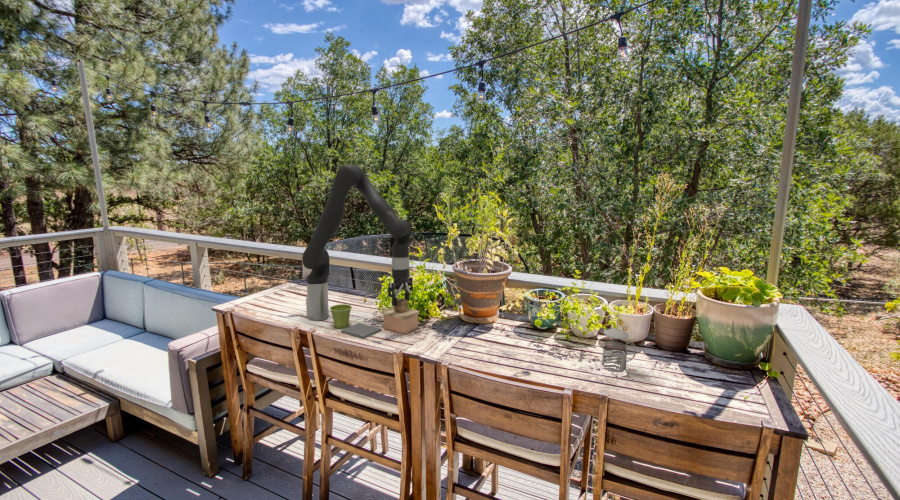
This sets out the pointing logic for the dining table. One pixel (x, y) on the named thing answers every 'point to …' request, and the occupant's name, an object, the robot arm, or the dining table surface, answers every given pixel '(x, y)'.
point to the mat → (361, 330)
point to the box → (400, 324)
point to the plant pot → (341, 315)
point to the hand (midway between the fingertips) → (401, 303)
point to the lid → (401, 310)
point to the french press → (616, 348)
